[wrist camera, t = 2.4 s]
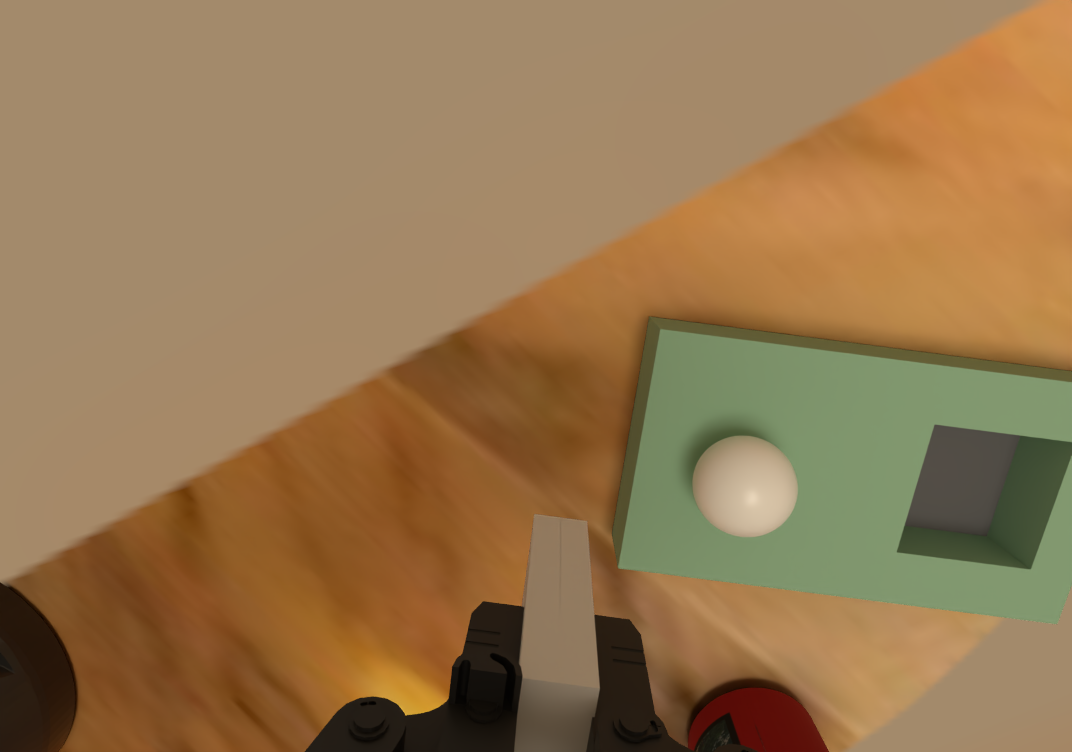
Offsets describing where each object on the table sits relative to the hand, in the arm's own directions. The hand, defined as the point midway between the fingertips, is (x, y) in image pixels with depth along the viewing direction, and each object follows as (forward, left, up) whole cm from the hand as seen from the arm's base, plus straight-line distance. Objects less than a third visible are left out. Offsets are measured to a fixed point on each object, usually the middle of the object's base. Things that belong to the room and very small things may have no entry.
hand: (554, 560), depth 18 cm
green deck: (+14, 0, -13) cm, 19 cm away
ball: (+8, 0, -8) cm, 11 cm away
